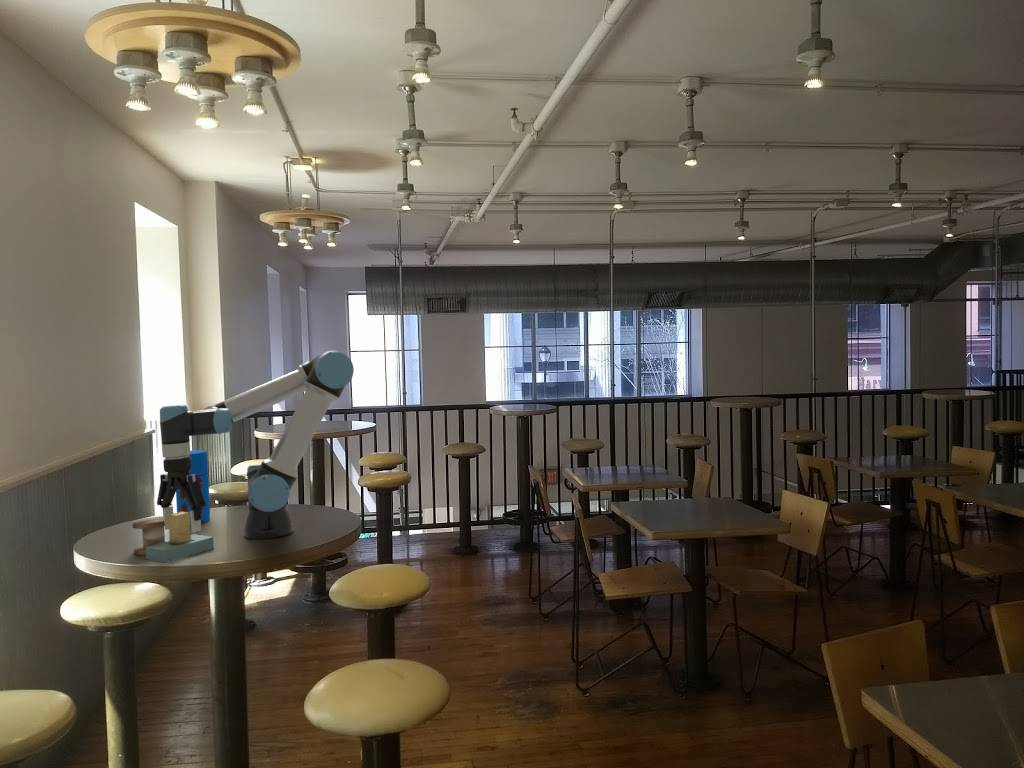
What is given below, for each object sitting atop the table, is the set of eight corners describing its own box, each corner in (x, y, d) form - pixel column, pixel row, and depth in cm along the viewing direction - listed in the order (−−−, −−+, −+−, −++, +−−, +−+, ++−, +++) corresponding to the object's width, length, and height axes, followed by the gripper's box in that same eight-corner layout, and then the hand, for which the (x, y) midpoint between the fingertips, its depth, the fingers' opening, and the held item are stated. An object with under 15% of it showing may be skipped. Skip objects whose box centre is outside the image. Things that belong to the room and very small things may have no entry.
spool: (182, 547, 215) (180, 518, 215) (148, 557, 206) (147, 526, 205) (159, 544, 220) (158, 515, 220) (125, 553, 211) (124, 522, 211)
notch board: (194, 545, 218) (193, 534, 218) (213, 548, 213) (213, 537, 213) (146, 558, 204) (145, 547, 204) (165, 562, 199) (165, 550, 199)
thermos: (215, 521, 251) (211, 451, 250) (183, 526, 244) (180, 455, 243) (203, 516, 259) (200, 449, 258) (173, 522, 252) (169, 452, 251)
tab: (183, 551, 211) (181, 511, 211) (191, 552, 210) (189, 512, 209) (170, 554, 208) (168, 514, 207) (177, 556, 206) (175, 515, 205)
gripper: (215, 455, 205) (220, 529, 206) (163, 454, 216) (168, 524, 217) (192, 459, 198) (198, 535, 199) (140, 458, 210) (146, 530, 211)
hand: (182, 530), depth 208 cm, fingers open, 11 cm apart
